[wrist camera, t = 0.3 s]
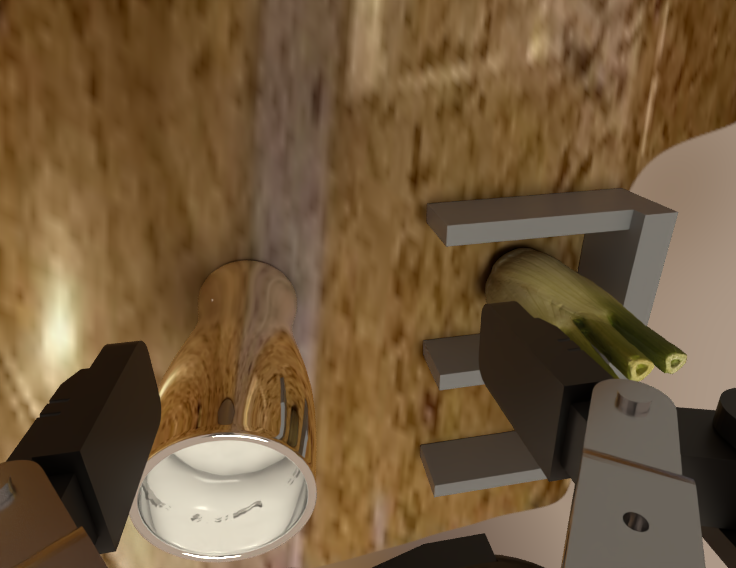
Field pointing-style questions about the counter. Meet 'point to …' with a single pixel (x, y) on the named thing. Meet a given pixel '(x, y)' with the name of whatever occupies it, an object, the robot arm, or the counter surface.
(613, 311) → the fennel bulb
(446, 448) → the comb rack
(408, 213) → the counter surface
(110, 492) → the robot arm
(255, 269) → the beer glass
